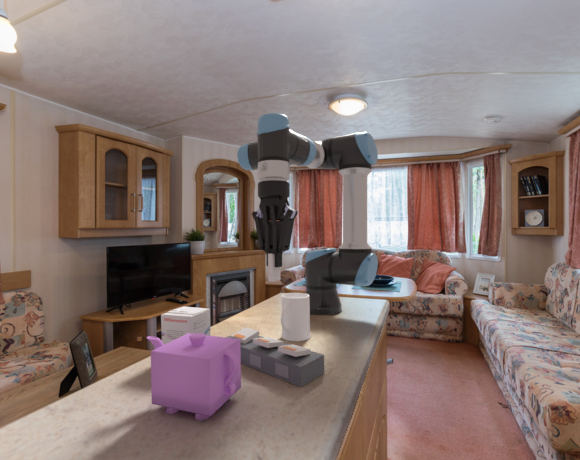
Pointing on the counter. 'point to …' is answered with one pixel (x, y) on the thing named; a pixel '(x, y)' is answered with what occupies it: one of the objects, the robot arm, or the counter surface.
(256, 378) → the counter surface
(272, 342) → the rocker
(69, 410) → the counter surface
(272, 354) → the power strip
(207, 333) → the ink box
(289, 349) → the rocker
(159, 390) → the teapot
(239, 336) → the rocker
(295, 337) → the mug
